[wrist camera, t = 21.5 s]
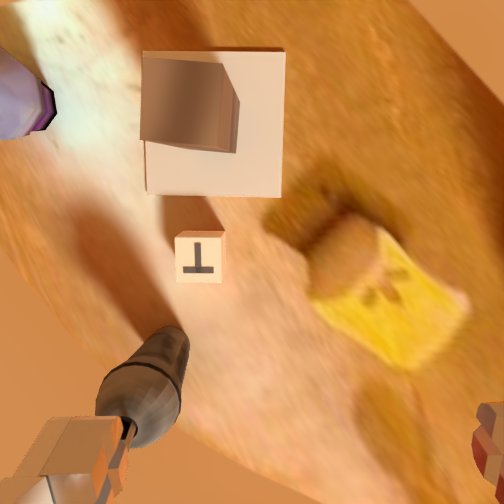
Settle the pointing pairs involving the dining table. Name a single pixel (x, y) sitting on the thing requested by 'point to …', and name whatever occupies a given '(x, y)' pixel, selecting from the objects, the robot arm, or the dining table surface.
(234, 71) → the white square plate
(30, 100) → the potion bottle
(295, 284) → the dining table surface
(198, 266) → the letter cube
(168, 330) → the beverage cup
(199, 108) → the walnut block
